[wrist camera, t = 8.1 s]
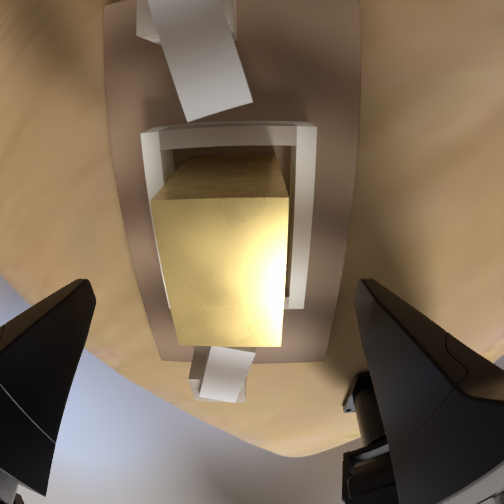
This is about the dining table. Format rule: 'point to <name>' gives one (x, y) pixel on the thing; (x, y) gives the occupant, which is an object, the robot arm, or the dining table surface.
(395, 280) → the dining table surface
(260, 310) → the tan rectangular block
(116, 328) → the dining table surface
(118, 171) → the coupling base
